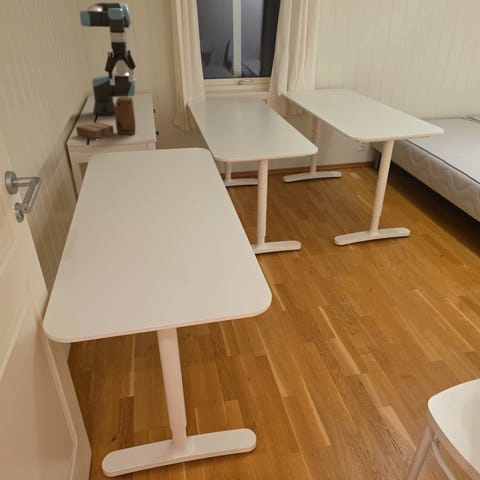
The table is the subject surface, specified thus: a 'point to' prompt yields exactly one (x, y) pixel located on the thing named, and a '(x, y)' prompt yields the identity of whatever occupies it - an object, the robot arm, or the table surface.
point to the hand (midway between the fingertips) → (122, 83)
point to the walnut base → (95, 130)
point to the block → (125, 115)
